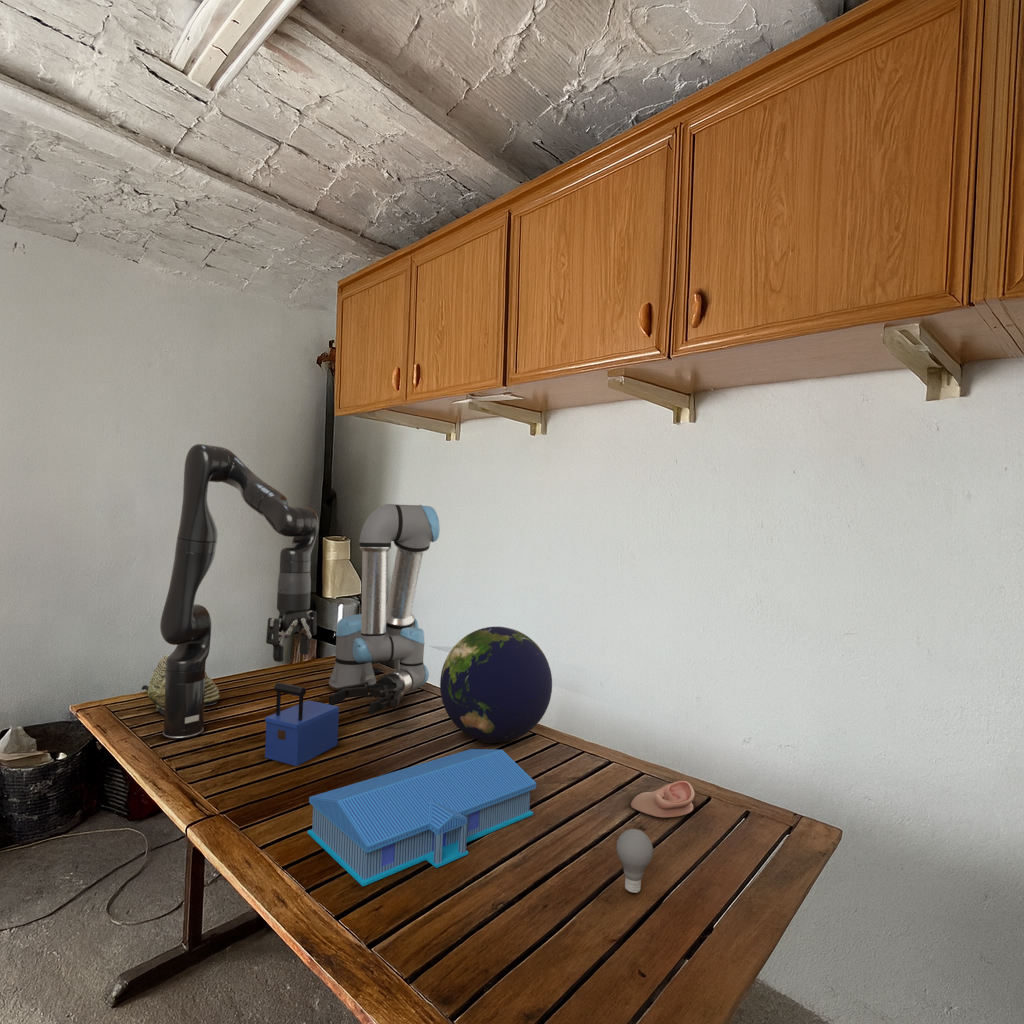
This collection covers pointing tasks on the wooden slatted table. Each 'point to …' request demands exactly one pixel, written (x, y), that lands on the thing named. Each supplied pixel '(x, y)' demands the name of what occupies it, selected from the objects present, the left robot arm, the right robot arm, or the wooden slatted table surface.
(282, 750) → the chest
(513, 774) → the model building
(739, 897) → the wooden slatted table surface
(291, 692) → the lid
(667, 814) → the anatomical model
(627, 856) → the light bulb
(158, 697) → the fossil
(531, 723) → the globe
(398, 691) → the right robot arm
